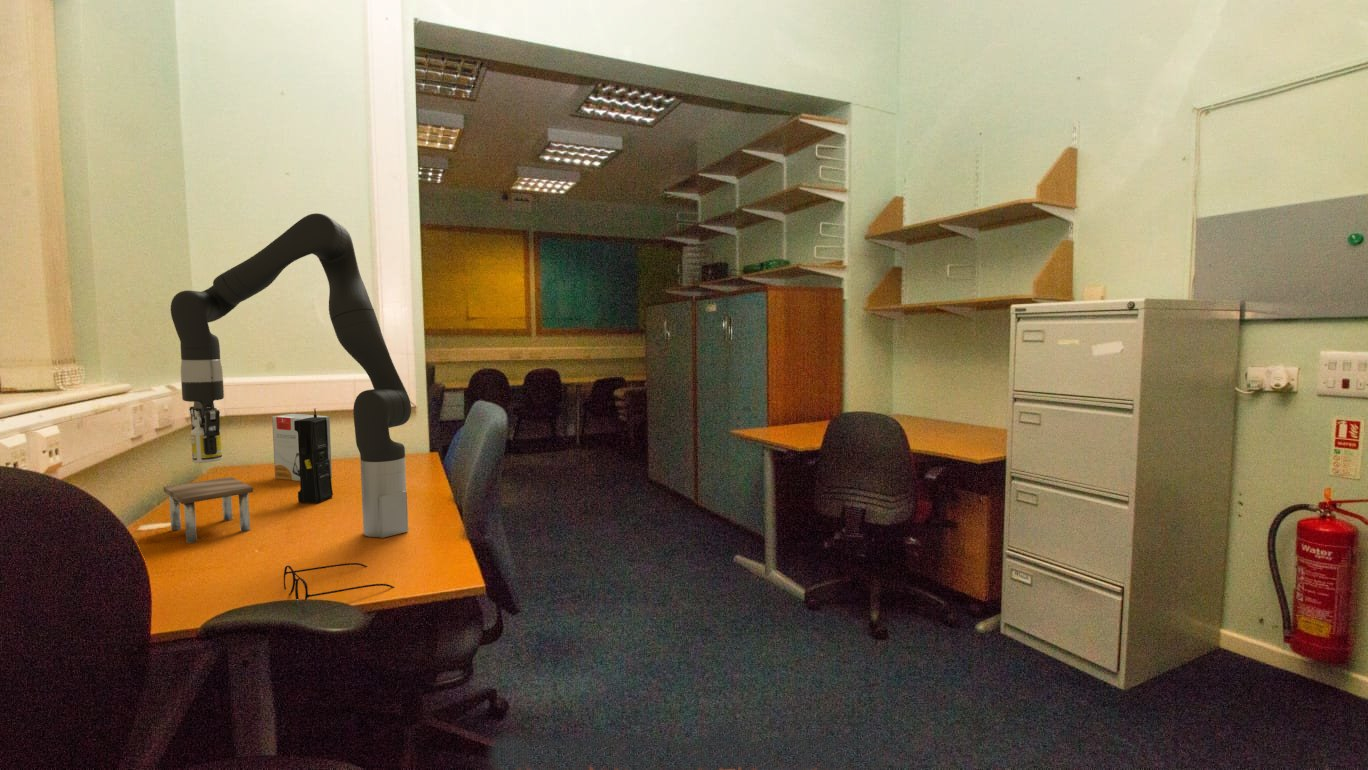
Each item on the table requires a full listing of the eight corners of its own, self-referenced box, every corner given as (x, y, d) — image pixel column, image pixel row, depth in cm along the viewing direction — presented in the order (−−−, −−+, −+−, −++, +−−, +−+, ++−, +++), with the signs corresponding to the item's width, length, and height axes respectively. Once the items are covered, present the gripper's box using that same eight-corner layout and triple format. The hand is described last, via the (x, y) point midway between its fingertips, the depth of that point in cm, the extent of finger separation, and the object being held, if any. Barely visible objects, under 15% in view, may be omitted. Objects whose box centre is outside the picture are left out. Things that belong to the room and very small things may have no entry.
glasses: (281, 590, 111) (284, 562, 111) (369, 576, 122) (371, 551, 122) (303, 615, 101) (306, 585, 101) (397, 598, 112) (399, 571, 112)
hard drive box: (273, 479, 193) (270, 416, 191) (295, 474, 200) (292, 413, 198) (312, 483, 188) (309, 418, 186) (333, 477, 195) (330, 415, 194)
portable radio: (317, 504, 164) (313, 412, 162) (295, 504, 164) (290, 411, 162) (334, 497, 172) (330, 408, 170) (313, 496, 172) (309, 408, 170)
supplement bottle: (227, 458, 144) (225, 417, 144) (210, 463, 139) (208, 420, 138) (204, 458, 144) (201, 417, 143) (186, 463, 139) (183, 420, 138)
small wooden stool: (255, 530, 143) (252, 487, 142) (184, 544, 133) (181, 498, 132) (233, 517, 153) (231, 476, 152) (166, 529, 143) (163, 486, 142)
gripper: (231, 380, 138) (236, 454, 140) (213, 377, 148) (217, 446, 149) (190, 382, 133) (195, 459, 134) (173, 378, 142) (178, 451, 143)
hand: (206, 452), depth 142 cm, fingers closed on supplement bottle, 5 cm apart
